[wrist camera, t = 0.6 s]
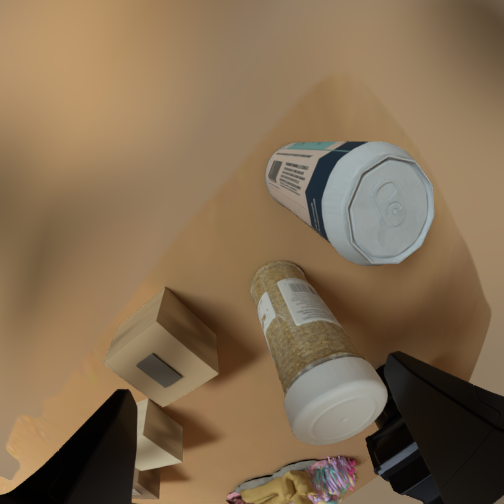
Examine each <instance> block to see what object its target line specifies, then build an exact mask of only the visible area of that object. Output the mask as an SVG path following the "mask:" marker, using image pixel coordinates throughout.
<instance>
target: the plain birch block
mask: <svg viewBox="0 0 504 504" xmlns="http://www.w3.org/2000/svg"><path fill="white" fill-rule="evenodd" d="M136 404H137V408H138V419H137V453H136V461H135V468H137V469H139V470H140V471H143V470H148V469H154V468H159V467H163V466H168V465H173V464H177V463H181V462H183V427H182V426H180V425H179V424H178V423H177V422H175V421H174V420H173V419H172V418H171V417H169V416H168V415H167V414H166V413H165V412H163V411H162V410H161V409H160V408H159V407H158V406H156V405H155V404H154V403H153V402H152V401H151V400H150V399H145V400H143V401H140V402H137V403H136Z"/></svg>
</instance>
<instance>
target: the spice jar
mask: <svg viewBox="0 0 504 504" xmlns="http://www.w3.org/2000/svg"><path fill="white" fill-rule="evenodd" d="M266 184H267V187H268V190H269V192H270V194H271V196H272V197H273V198H274V199H275V200H276V201H277V202H278V203H279V204H281V205H282V206H284V207H286V208H287V209H289V210H290V211H291V212H293V213H294V214H295V215H296V216H298V217H299V218H300V219H301V220H303V221H304V222H305V223H306V224H307V225H309V226H310V227H311V228H312V229H314V230H315V231H316V232H317V233H319V234H320V235H321V236H322V237H323V238H325V239H326V240H327V241H328V242H329V243H331V244H332V245H333V247H334V248H335V250H336V251H337V252H338V253H339V254H340V255H342V256H343V257H344V258H345V259H347V260H348V261H350V262H352V263H355V264H358V265H361V266H379V265H384V264H397V263H400V262H401V261H403V260H404V259H405V258H407V257H408V256H409V255H410V254H412V253H413V252H414V251H416V250H417V249H418V248H419V247H421V246H422V244H423V242H424V240H425V237H426V235H427V233H428V230H429V228H430V226H431V223H432V221H433V218H434V199H433V186H432V183H431V182H430V180H429V179H428V178H427V176H426V175H425V173H424V172H423V170H422V169H421V167H420V166H419V165H418V163H417V162H416V161H415V160H414V159H413V158H412V157H411V156H410V155H409V154H408V153H407V152H406V151H405V150H403V149H402V148H400V147H398V146H397V145H393V144H390V143H387V142H304V143H300V142H299V143H291V144H288V145H286V146H284V147H282V148H280V149H279V150H278V151H276V152H275V153H274V154H273V156H272V157H271V159H270V160H269V163H268V166H267V169H266Z"/></svg>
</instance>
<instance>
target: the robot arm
mask: <svg viewBox="0 0 504 504" xmlns="http://www.w3.org/2000/svg"><path fill="white" fill-rule="evenodd" d="M376 372H377V374H378V375H379V377H380V378H381V380H382V382H383V383H384V385H385V387H386V389H387V395H388V397H387V402H386V405H385V407H384V409H383V411H382V412H381V414H380V415H379V416H378V417H377V418H376V420H375V423H376V425H377V427H378V428H379V430H378V431H376V432H375V433H374V434H372V435H371V436H368V437H367V438H365V439H366V442H367V444H366V445H367V448H368V451H369V454H370V457H371V461H372V464H373V467H374V472H375V474H376V475H380V476H381V477H382V478H383V479H384V480H386V481H388V482H390V484H391V486H392V488H393V490H394V491H395V492H397V493H399V494H401V495H404V494H405V495H407V496H410V497H412V498H415V499H417V500H420V501H422V502H423V503H424V504H504V396H501V395H498V394H495V393H492V392H490V391H487V390H485V389H482V388H480V387H478V386H475V385H473V384H471V383H469V382H466V381H464V380H462V379H460V378H457V377H455V376H453V375H451V374H449V373H446V372H444V371H442V370H440V369H438V368H435V367H433V366H431V365H429V364H427V363H424V362H422V361H420V360H418V359H416V358H414V357H411V356H409V355H407V354H405V353H403V352H401V351H396V352H392V353H390V354H389V355H388V357H387V361H386V365H384V366H382V367H381V368H379V369H378V370H376ZM137 419H138V408H137V404H136V402H135V400H134V398H133V396H132V394H131V392H130V390H128V389H117V390H116V391H115V392H114V393H113V394H112V395H111V396H110V397H109V398H108V399H107V400H106V401H105V402H104V403H103V405H102V406H101V407H100V408H99V409H98V410H97V411H96V412H95V413H94V414H93V415H92V416H91V417H90V418H89V419H88V420H87V421H86V422H85V423H84V424H83V425H82V426H81V427H80V428H79V429H78V430H77V431H76V432H75V434H74V435H73V436H72V437H71V438H70V439H69V440H68V441H67V442H66V443H65V444H64V445H63V446H62V447H61V448H60V449H59V451H57V452H56V453H55V454H54V455H53V456H52V457H51V458H50V459H49V460H48V461H47V462H46V463H45V464H44V465H43V466H42V467H41V468H40V469H38V470H37V471H36V472H35V473H34V474H32V475H31V476H30V477H29V478H28V479H26V480H25V481H24V482H23V483H21V484H20V485H19V486H18V487H16V488H15V489H14V490H12V491H10V492H9V493H6V494H2V495H0V504H131V502H132V490H133V479H134V470H135V461H136V453H137Z"/></svg>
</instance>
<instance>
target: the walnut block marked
mask: <svg viewBox="0 0 504 504" xmlns="http://www.w3.org/2000/svg"><path fill="white" fill-rule="evenodd" d="M159 490H160V472H159V471H158V470H157V469H156V468H154V469H148V470H143V471H140V470H139V469H137V468H135V470H134V479H133V490H132V499H159Z"/></svg>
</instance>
